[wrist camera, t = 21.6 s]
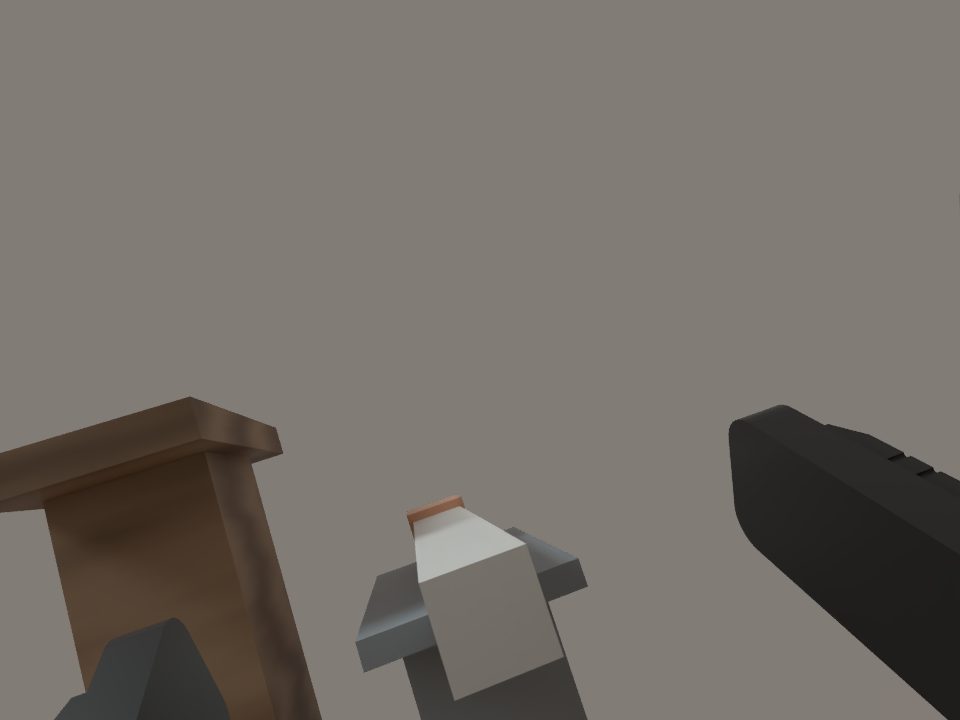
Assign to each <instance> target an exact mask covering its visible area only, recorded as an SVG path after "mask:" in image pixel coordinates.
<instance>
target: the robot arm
mask: <svg viewBox="0 0 960 720" xmlns="http://www.w3.org/2000/svg"><path fill="white" fill-rule="evenodd" d="M729 447H730V458H731V470H732V481H733V492H734V504H735V511H736V515H737V518H738V521H739V523H740V525H741V527H742V529H743V531H744V533H745V535H746V536H747V538H748V539H749V541H750V542H751V543H752V544H753V546H754V547H755V548H756V549H757V550H759V551H760V552H761V553H762V554H763V555H764V556H765V557H766V558H767V559H769V560H770V561H771V562H772V563H773V564H774V565H775V566H776V567H777V568H779V569H780V570H781V571H782V572H783V573H784V574H785V575H787V576H788V577H789V578H790V579H791V580H792V581H793V582H794V583H795V584H797V585H798V586H799V587H800V588H801V589H802V590H803V591H804V592H805V593H807V594H808V595H809V596H810V597H811V598H812V599H813V600H815V601H816V602H817V603H818V604H819V605H820V606H821V607H822V608H823V609H825V610H826V611H827V612H828V613H829V614H830V615H831V616H832V617H834V618H835V619H836V620H837V621H838V622H839V623H840V624H841V625H842V626H844V627H845V628H846V629H847V630H848V631H849V632H850V633H851V634H852V635H854V636H855V637H856V638H857V639H858V640H859V641H860V642H862V643H863V644H864V645H865V646H866V647H867V648H868V649H869V650H870V651H871V652H873V653H874V654H875V655H876V656H877V657H878V658H879V659H880V660H882V661H883V662H884V663H885V664H886V665H887V666H888V667H889V668H891V669H892V670H893V671H894V672H895V673H896V674H897V675H898V676H899V677H901V678H902V679H903V680H904V681H905V682H906V683H907V684H909V685H910V686H911V687H912V688H913V689H914V690H915V691H916V692H917V693H918V694H920V695H921V696H922V697H923V698H924V699H925V700H926V701H928V702H929V703H930V704H931V705H932V706H933V707H934V708H935V709H936V710H938V711H939V712H940V713H941V714H942V715H943V716H944V717H945V718H947V719H948V720H960V481H959V480H957V479H955V478H953V477H951V476H949V475H947V474H945V473H943V472H938V473H936V472H935V471H934V469H933V467H931V466H929V465H927V464H926V463H924V462H921V461H920V460H918V459H916V458H914V457H912V456H910V457H906V456H905V455H904V453H903V452H902V451H900V450H898V449H896V448H894V447H892V446H890V445H888V444H886V443H884V442H883V441H880V440H879V439H877V438H875V437H873V436H870V435H869V434H864V433H861V432H857V431H852V430H849V429H845V428H841V427H837V426H833V425H829V424H827V425H823V424H821V423H819V422H817V421H815V420H814V419H812V418H810V417H808V416H806V415H804V414H802V413H800V412H799V411H797V410H795V409H793V408H791V407H789V406H786V405H778V406H775V407H772V408H769V409H766V410H764V411H761V412H758V413H756V414H752V415H749V416H747V417H744V418H741V419H738V420H735V421H734V422H732V424H731V426H730V428H729ZM54 720H230V716H229V712H228V709H227V706H226V703H225V701H224V699H223V696H222V695H221V693H220V691H219V689H218V687H217V685H216V683H215V681H214V679H213V678H212V676H211V674H210V672H209V670H208V668H207V666H206V664H205V662H204V660H203V659H202V657H201V655H200V653H199V651H198V649H197V647H196V645H195V643H194V641H193V640H192V638H191V636H190V634H189V632H188V630H187V628H186V627H185V625H184V624H183V623H182V622H181V621H180V620H179V619H177V618H171V619H168V620H165V621H162V622H159V623H157V624H154V625H151V626H148V627H145V628H142V629H140V630H137V631H134V632H131V633H128V634H125V635H123V636H120V637H117V638H114V639H112V640H111V641H109V642H108V644H107V645H106V647H105V649H104V651H103V653H102V656H101V658H100V660H99V663H98V665H97V668H96V670H95V673H94V675H93V678H92V680H91V683H90V685H89V688H88V690H87V692H86V693H84V694H81V695H79V696H76V697H73V698H71V699H70V700H69V702H68V703H67V704H66V706H65V707H64V708H63V709H62V711H61V712H60V713H59V714H58V716H57V717H56V718H55V719H54Z"/></svg>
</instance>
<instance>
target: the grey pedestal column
mask: <svg viewBox="0 0 960 720" xmlns="http://www.w3.org/2000/svg"><path fill="white" fill-rule="evenodd" d="M504 531H505V532H506V533H508V534H510V535H512V536H513V537H515V538H517V539H519V540H521V541H522V542H524V543H526V544H527V547H528V550H529V553H530V556H531V559H532V562H533V565H534V568H535V571H536V574H537V577H538V580H539V583H540V586H541V589H542V592H543V595H544V598H545V601H546V604H547V607H548V610H549V613H550V616H551V619H552V622H553V625H554V628H555V631H556V634H557V637H558V640H559V643H560V646H561V649H562V652H563V655H564V657H562V658H560V659H557V660H555V661H552V662H550V663H547V664H545V665H542V666H540V667H537V668H535V669H532V670H530V671H528V672H525V673H523V674H520V675H518V676H515V677H513V678H510V679H508V680H505V681H503V682H500V683H498V684H495V685H493V686H490V687H488V688H485V689H483V690H480V691H478V692H475V693H473V694H470V695H468V696H465V697H463V698H460V699H458V700H455V701H454V697H453V694H452V691H451V688H450V684H449V681H448V678H447V675H446V671H445V668H444V665H443V662H442V658H441V655H440V652H439V649H438V645H437V642H436V639H435V636H434V632H433V629H432V626H431V622H430V619H429V616H428V613H427V609H426V606H425V603H424V600H423V596H422V593H421V590H420V587H419V583H418V572H417V562H415V563H412V564H410V565H407V566H404V567H401V568H399V569H396V570H393V571H390V572H387V573H385V574H382V575H379V576H377V579H376V582H375V585H374V588H373V591H372V594H371V597H370V600H369V603H368V606H367V609H366V612H365V615H364V618H363V621H362V623H361V627H360V629H359V632H358V635H357V638H356V642H355V643H356V646H357V649H358V653H359V656H360V660H361V663H362V667H363V670H364V672H367V671H370V670H372V669H375V668H377V667H380V666H383V665H385V664H388V663H390V662H393V661H396V660H398V659H401V658H403V660H404V663H405V667H406V670H407V673H408V677H409V680H410V684H411V687H412V690H413V694H414V697H415V700H416V704H417V707H418V710H419V713H420V717H421V720H587V717H586V714H585V711H584V708H583V705H582V702H581V699H580V696H579V693H578V690H577V687H576V684H575V681H574V678H573V675H572V672H571V669H570V666H569V663H568V660H567V657H566V654H565V651H564V648H563V645H562V642H561V639H560V636H559V633H558V631H557V628H556V624H555V621H554V618H553V615H552V612H551V610H550V606H549V604H548V602H549V601H551V600H554V599H556V598H559V597H561V596H564V595H567V594H570V593H572V592H575V591H577V590H580V589H582V588H585V587H587V586H588V585H587V582H586V580H585V576H584V574H583V571H582V568H581V565H580V562H579V559H578V558H577V557H575V556H573V555H570V554H568V553H567V552H564V551H562V550H560V549H558V548H556V547H554V546H552V545H550V544H548V543H546V542H544V541H542V540H539V539H537V538H535V537H533V536H531V535H529V534H527V533H525V532H523V531H521V530H519V529H517V528H515V527H512V528H510V529H507V530H504Z"/></svg>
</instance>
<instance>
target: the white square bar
mask: <svg viewBox="0 0 960 720" xmlns="http://www.w3.org/2000/svg"><path fill="white" fill-rule="evenodd" d="M407 518H408V521H409V524H410V527H411V531H412V533H413V537H414V540H415V548H416V559H417V572H418V583H419V587H420V590H421V593H422V596H423V600H424V603H425V606H426V609H427V613H428V616H429V619H430V622H431V626H432V629H433V632H434V636H435V639H436V642H437V645H438V649H439V652H440V655H441V658H442V662H443V665H444V668H445V671H446V675H447V678H448V681H449V684H450V688H451V691H452V694H453V697H454V701H455V700H458V699H460V698H463V697H465V696H468V695H470V694H473V693H475V692H478V691H480V690H483V689H485V688H488V687H490V686H493V685H495V684H498V683H500V682H503V681H505V680H508V679H510V678H513V677H515V676H518V675H520V674H523V673H525V672H528V671H530V670H532V669H535V668H537V667H540V666H542V665H545V664H547V663H550V662H552V661H555V660H557V659H560V658H562V657H564V655H563V652H562V649H561V646H560V643H559V640H558V637H557V634H556V631H555V628H554V625H553V622H552V619H551V616H550V613H549V610H548V607H547V604H546V601H545V598H544V595H543V592H542V589H541V586H540V583H539V580H538V577H537V574H536V571H535V568H534V565H533V562H532V559H531V556H530V553H529V550H528V547H527V544H526V543H524V542H522V541H521V540H519V539H517V538H515V537H513V536H512V535H510V534H508V533H506V532H505V531H503V530H501V529H499V528H498V527H496V526H494V525H492V524H491V523H489V522H487V521H485V520H484V519H482V518H480V517H478V516H476V515H475V514H473V513H471V512H469V511H468V510H466V509H465V507H464V504H463V501H462V498H461V497H460V496H458V495H453V496H450V497H447V498H444V499H442V500H439V501H436V502H433V503H430V504H427V505H424V506H421V507H418V508H416V509H413V510H410V511H407Z"/></svg>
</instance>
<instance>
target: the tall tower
mask: <svg viewBox="0 0 960 720" xmlns="http://www.w3.org/2000/svg"><path fill="white" fill-rule="evenodd" d="M280 454H283V451H282V448H281V444H280V441H279V437H278V434H277V430H276V428H275V427H272V426H269V425H266V424H263V423H261V422H258V421H255V420H253V419H250V418H247V417H244V416H242V415H239V414H236V413H234V412H231V411H228V410H225V409H222V408H220V407H217V406H214V405H212V404H209V403H206V402H204V401H201V400H198V399H195V398H192V397H187V398H184V399H181V400H177V401H174V402H171V403H167V404H164V405H160V406H157V407H154V408H150V409H147V410H143V411H140V412H137V413H133V414H130V415H127V416H123V417H120V418H117V419H113V420H110V421H107V422H103V423H100V424H97V425H94V426H90V427H87V428H83V429H80V430H77V431H73V432H70V433H66V434H63V435H60V436H56V437H53V438H50V439H46V440H43V441H40V442H36V443H33V444H30V445H26V446H23V447H20V448H16V449H13V450H10V451H6V452H3V453H0V513H1V512H13V511H24V510H35V509H45V513H46V518H47V522H48V527H49V531H50V535H51V540H52V545H53V549H54V553H55V558H56V562H57V567H58V571H59V575H60V580H61V584H62V589H63V593H64V598H65V602H66V607H67V610H68V615H69V620H70V624H71V628H72V633H73V637H74V642H75V646H76V651H77V655H78V660H79V664H80V668H81V673H82V678H83V682H84V686H85V691H86V692H87V690H88V688H89V685H90V683H91V680H92V678H93V675H94V673H95V670H96V668H97V665H98V663H99V660H100V658H101V656H102V653H103V651H104V649H105V647H106V645H107V644H108V642H109V641H111V640H112V639H114V638H117V637H120V636H123V635H125V634H128V633H131V632H134V631H137V630H140V629H142V628H145V627H148V626H151V625H154V624H157V623H159V622H162V621H165V620H168V619H171V618H177V619H179V620H180V621H181V622H182V623H183V624H184V625H185V627H186V628H187V630H188V632H189V634H190V636H191V638H192V640H193V641H194V643H195V645H196V647H197V649H198V651H199V653H200V655H201V657H202V659H203V660H204V662H205V664H206V666H207V668H208V670H209V672H210V674H211V676H212V678H213V679H214V681H215V683H216V685H217V687H218V689H219V691H220V693H221V695H222V696H223V699H224V701H225V703H226V706H227V709H228V712H229V716H230V720H322V718H321V715H320V711H319V707H318V704H317V700H316V697H315V693H314V689H313V686H312V682H311V678H310V675H309V671H308V668H307V664H306V660H305V657H304V653H303V650H302V646H301V642H300V639H299V635H298V631H297V628H296V624H295V621H294V617H293V613H292V610H291V606H290V603H289V599H288V595H287V592H286V588H285V584H284V581H283V577H282V573H281V570H280V566H279V563H278V559H277V555H276V552H275V548H274V545H273V541H272V537H271V534H270V530H269V526H268V523H267V520H266V515H265V512H264V508H263V505H262V501H261V498H260V494H259V490H258V487H257V483H256V479H255V476H254V472H253V468H252V465H251V464H252V463H255V462H258V461H262V460H264V459H267V458H271V457H274V456H277V455H280Z"/></svg>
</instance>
